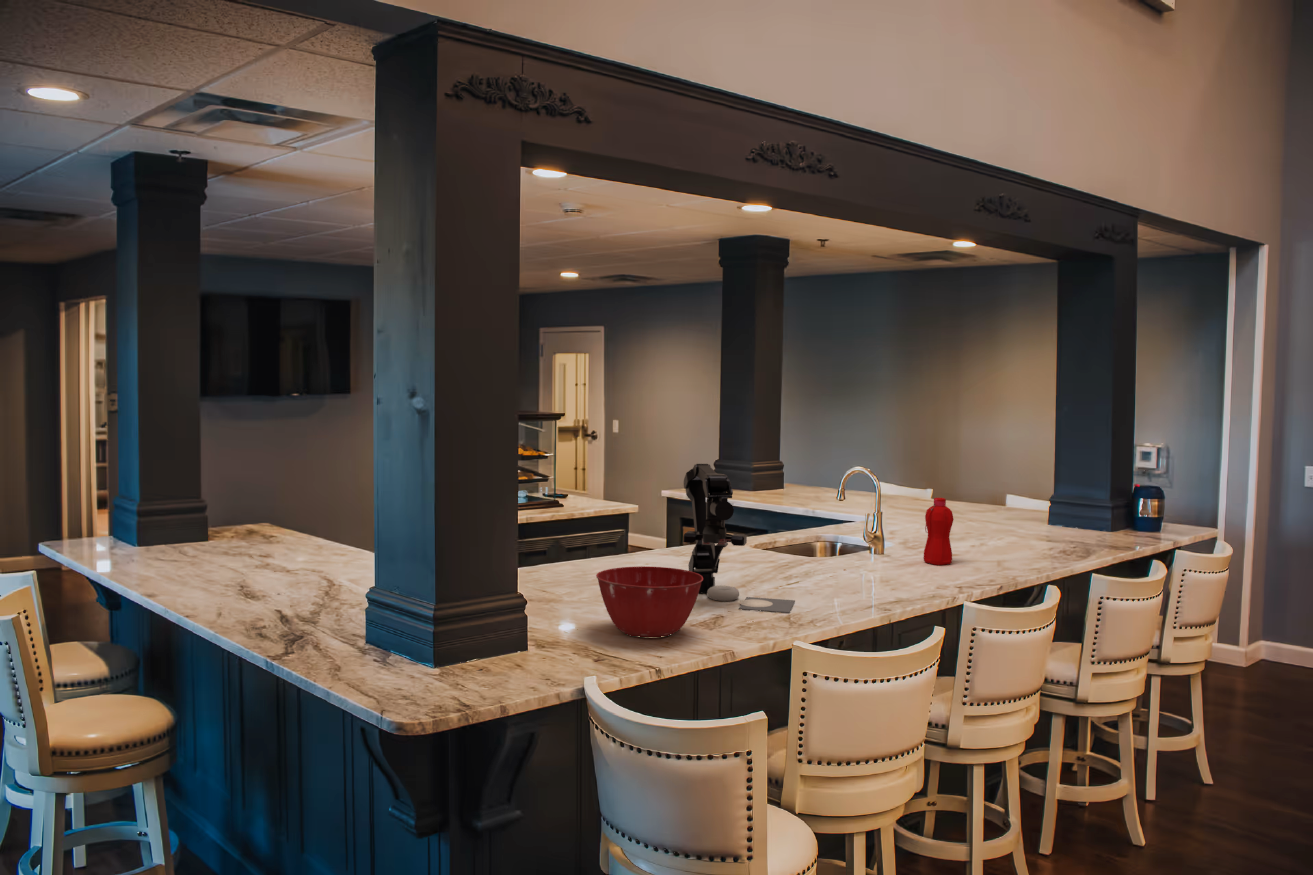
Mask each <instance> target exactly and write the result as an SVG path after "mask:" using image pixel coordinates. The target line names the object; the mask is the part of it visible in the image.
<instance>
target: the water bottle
mask: <svg viewBox="0 0 1313 875" xmlns="http://www.w3.org/2000/svg"><path fill="white" fill-rule="evenodd" d="M946 503H947V498H945V497H934V498H933V505H932V506H930V507H928V508H927V509H926V511H925V516H924V519H925V527H924V528H925V533H926V534H927V538H926V542H925V545H924V550H923V557H922V558H923V561H924V562H925V563H926V564H929V563H930V565H932V566H933V565H934V566H944V565H945V566H946V565H947V564H948V565H950V564H952V561H953V551H952V546H951V545H952V544H951V540H950V534H951V530H952V527H953V524H954V516H953V515H954V514H953V511H952V510H951V508H949V507H948V506H947V504H946Z"/></svg>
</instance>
